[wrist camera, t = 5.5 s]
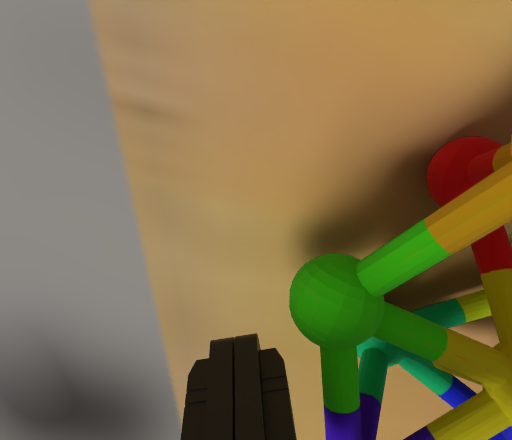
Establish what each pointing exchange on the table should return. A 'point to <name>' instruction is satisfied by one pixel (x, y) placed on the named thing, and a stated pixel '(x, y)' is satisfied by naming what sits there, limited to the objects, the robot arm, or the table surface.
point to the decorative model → (424, 319)
